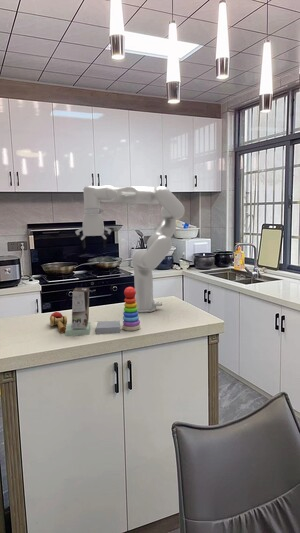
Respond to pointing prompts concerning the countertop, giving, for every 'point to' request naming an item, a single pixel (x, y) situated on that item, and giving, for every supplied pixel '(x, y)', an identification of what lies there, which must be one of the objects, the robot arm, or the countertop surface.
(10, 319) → the countertop surface
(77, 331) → the sage brick
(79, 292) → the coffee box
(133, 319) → the stacking toy
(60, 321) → the kendama
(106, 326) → the grey brick
